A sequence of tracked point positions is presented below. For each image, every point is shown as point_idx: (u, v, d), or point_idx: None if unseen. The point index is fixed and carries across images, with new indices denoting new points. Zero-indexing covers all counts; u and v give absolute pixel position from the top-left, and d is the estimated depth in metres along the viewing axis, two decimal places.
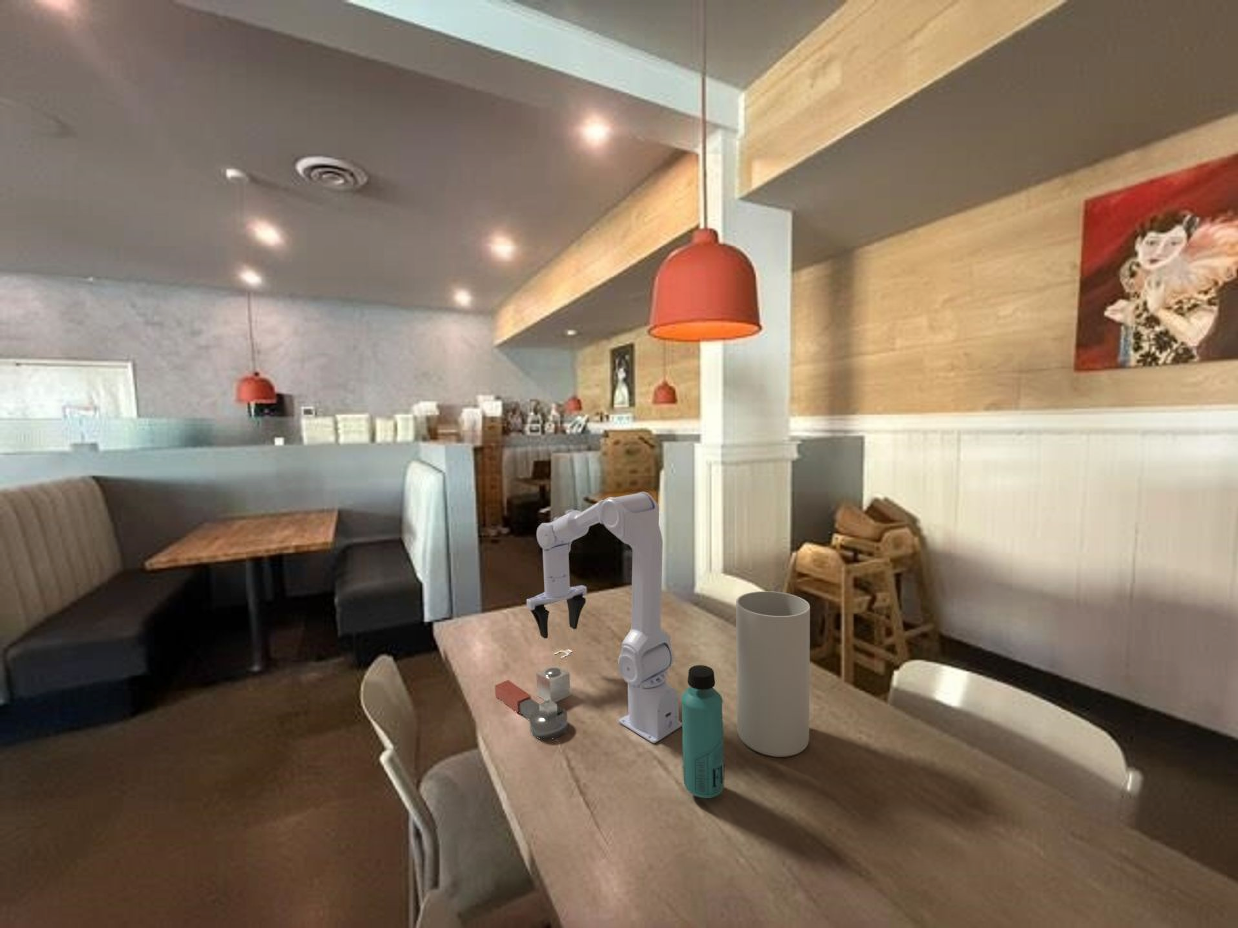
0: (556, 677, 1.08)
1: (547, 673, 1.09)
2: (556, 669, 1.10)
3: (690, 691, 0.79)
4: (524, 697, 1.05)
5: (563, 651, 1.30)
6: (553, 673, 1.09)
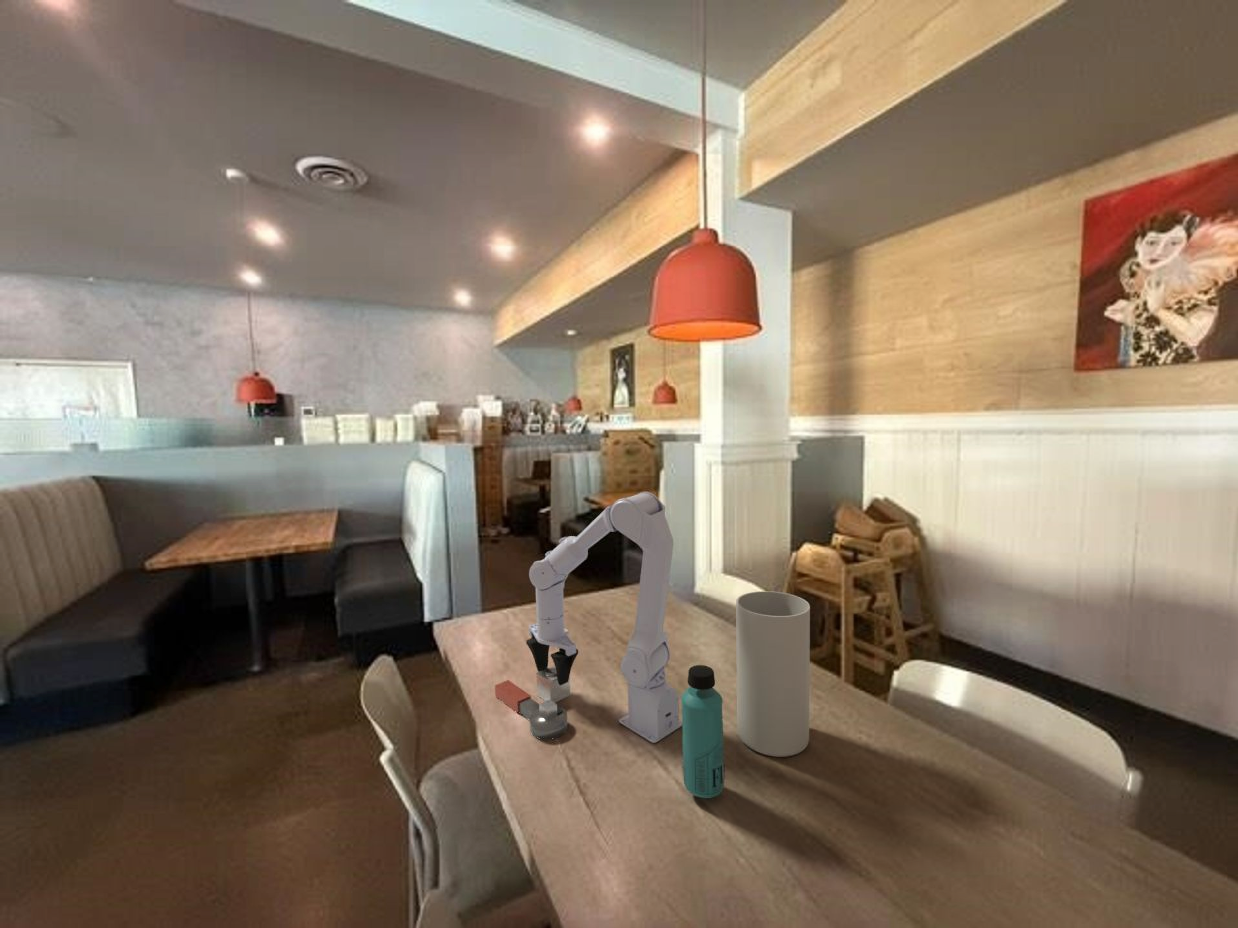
0: (556, 677, 1.08)
1: (547, 673, 1.09)
2: None
3: (690, 691, 0.79)
4: (524, 697, 1.05)
5: None
6: (553, 673, 1.09)
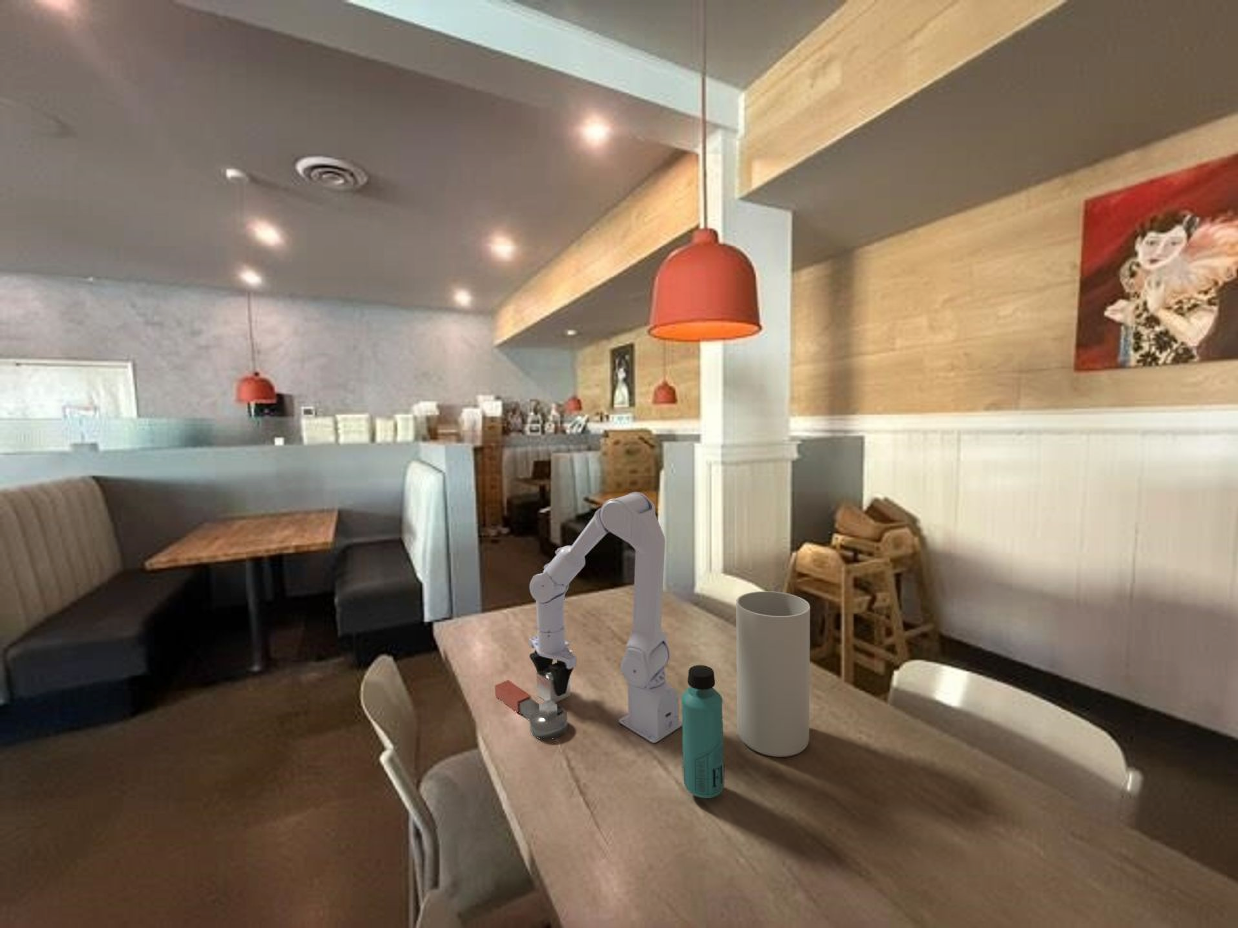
0: None
1: (547, 673, 1.09)
2: None
3: (690, 691, 0.79)
4: (524, 697, 1.05)
5: None
6: None
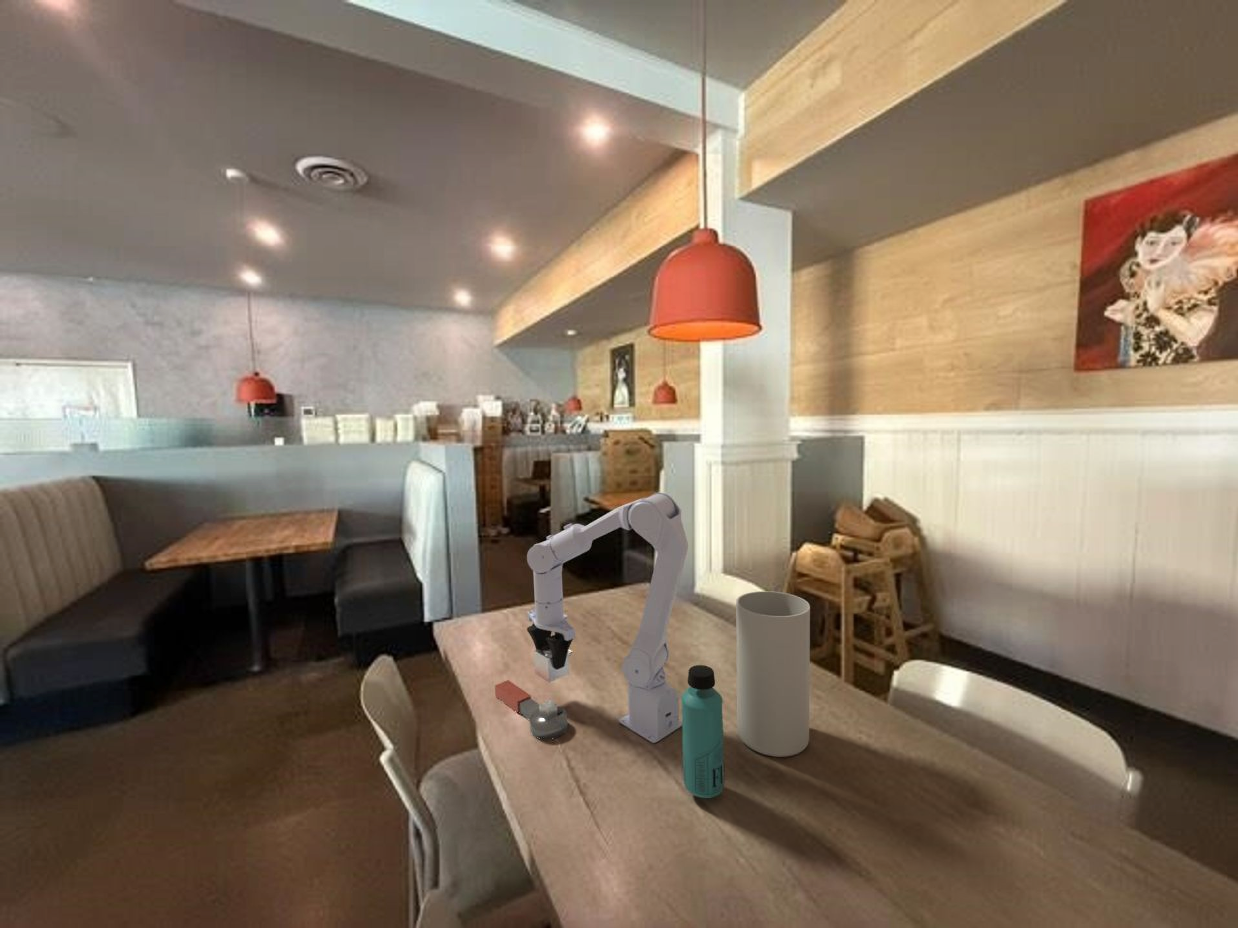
0: None
1: (545, 650, 1.06)
2: None
3: (690, 691, 0.79)
4: (524, 697, 1.05)
5: None
6: None
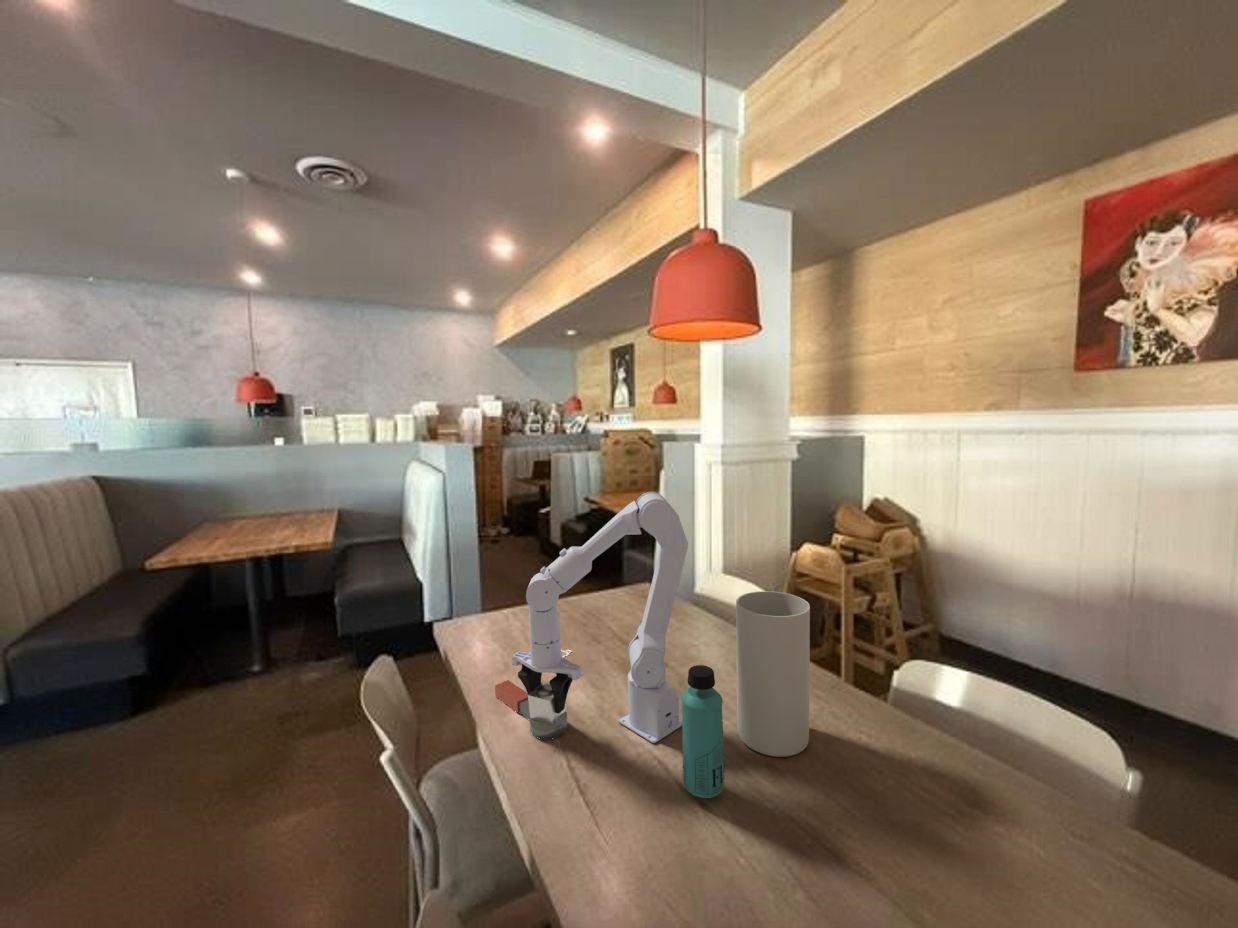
0: None
1: (541, 692, 0.96)
2: (548, 685, 0.98)
3: (690, 691, 0.79)
4: (524, 697, 1.05)
5: (563, 651, 1.30)
6: (548, 690, 0.97)
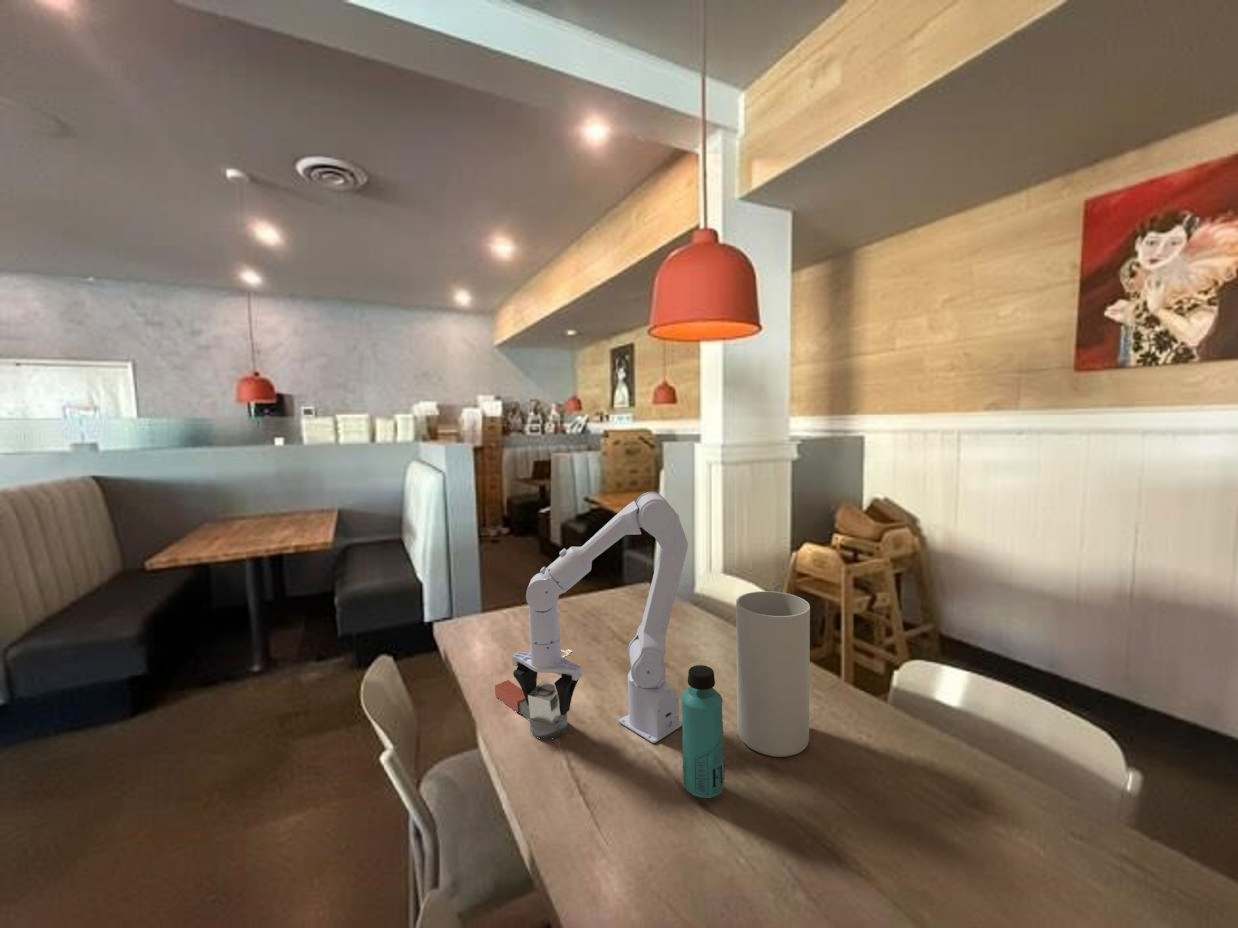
0: (554, 694, 0.96)
1: (541, 692, 0.96)
2: (548, 685, 0.98)
3: (690, 691, 0.79)
4: (524, 697, 1.05)
5: (563, 651, 1.30)
6: (548, 690, 0.97)
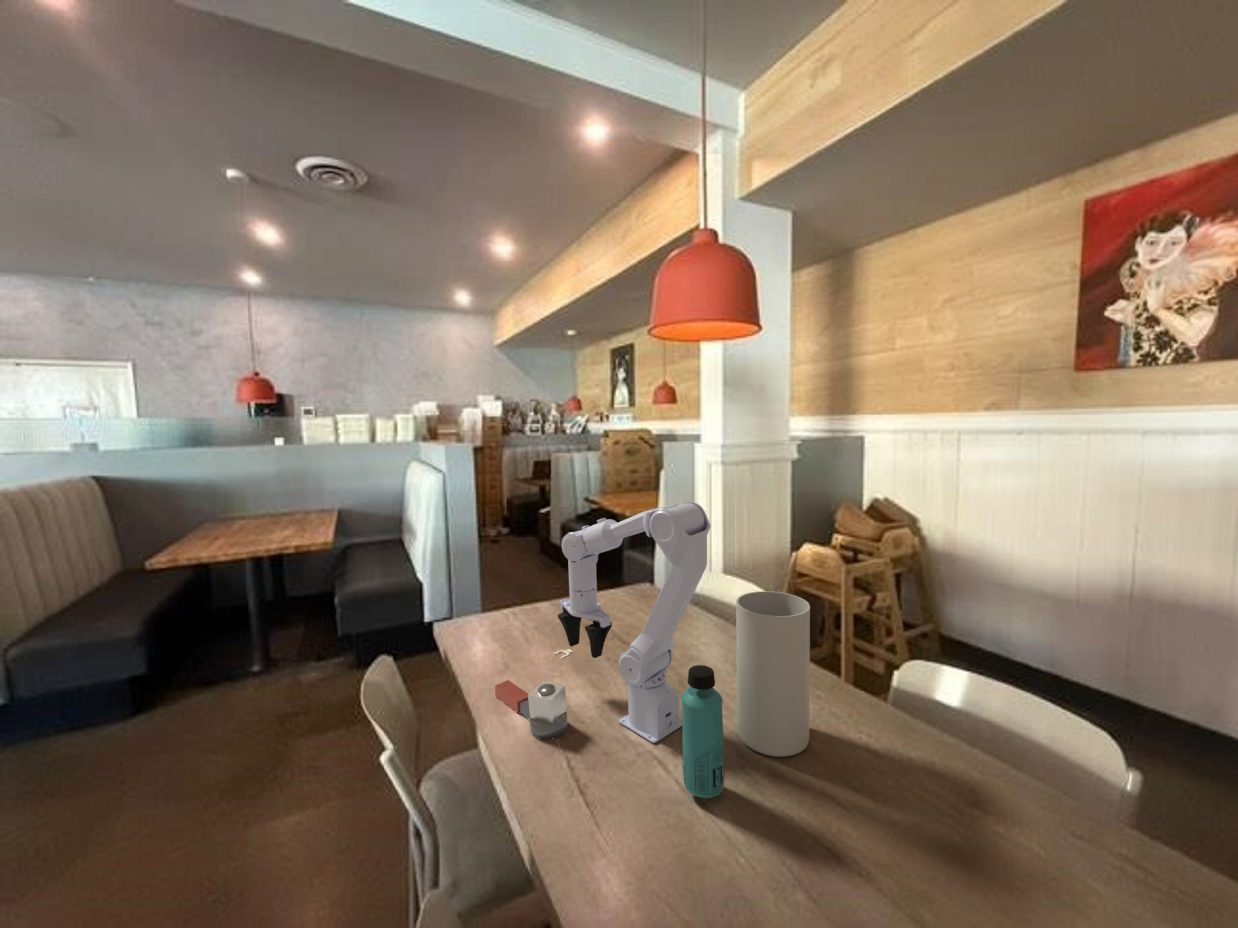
0: (554, 694, 0.96)
1: (541, 692, 0.96)
2: (548, 685, 0.98)
3: (690, 691, 0.79)
4: (524, 697, 1.05)
5: (563, 651, 1.30)
6: (548, 690, 0.97)
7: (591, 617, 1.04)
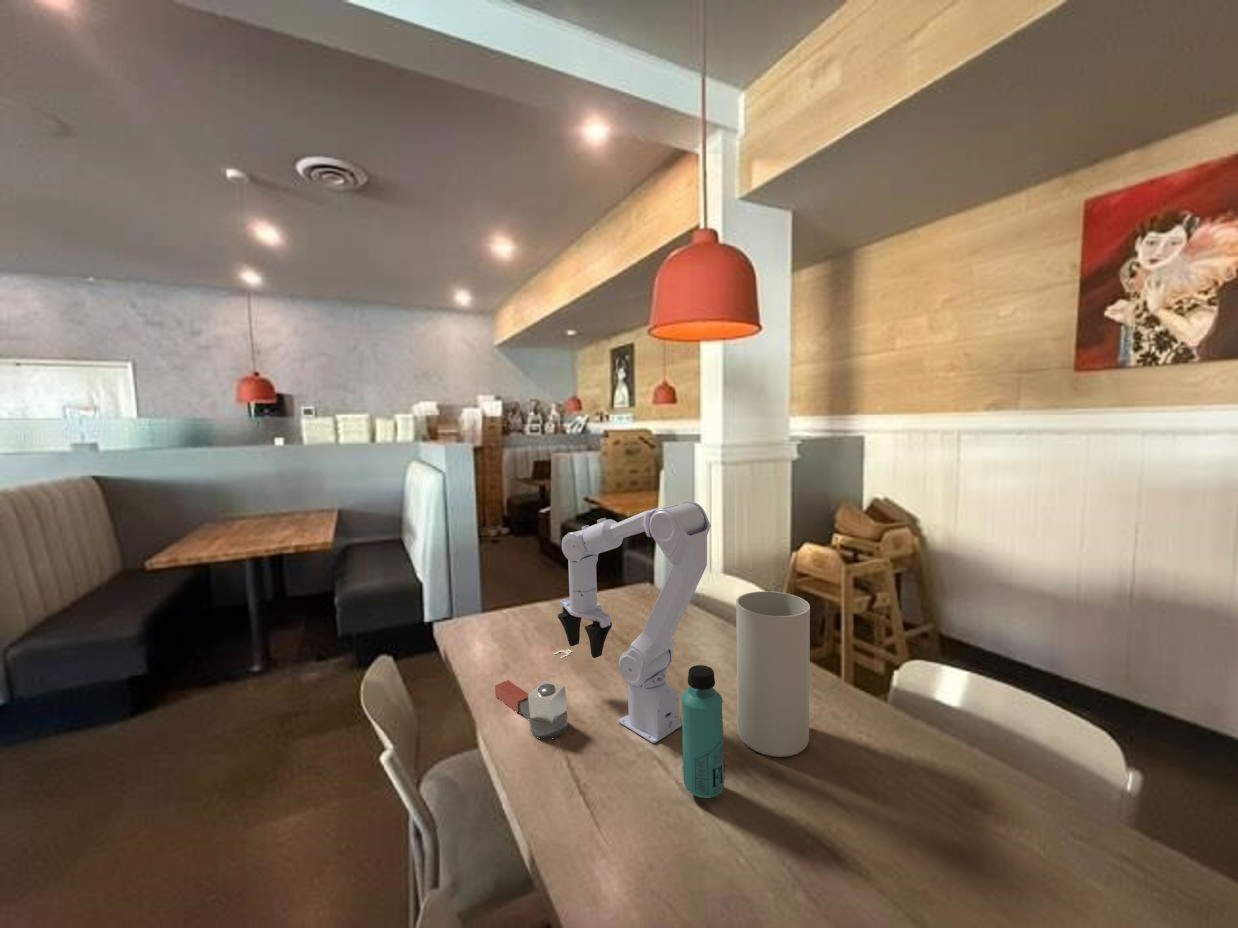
0: (554, 694, 0.96)
1: (541, 692, 0.96)
2: (548, 685, 0.98)
3: (690, 691, 0.79)
4: (524, 697, 1.05)
5: (563, 651, 1.30)
6: (548, 690, 0.97)
7: (591, 617, 1.04)
